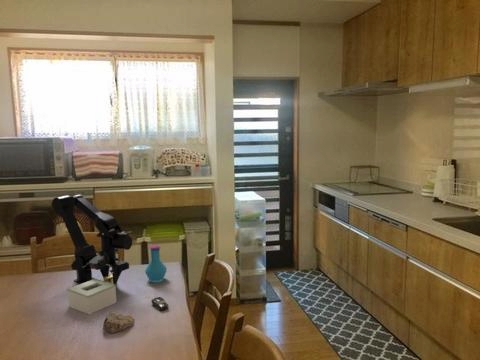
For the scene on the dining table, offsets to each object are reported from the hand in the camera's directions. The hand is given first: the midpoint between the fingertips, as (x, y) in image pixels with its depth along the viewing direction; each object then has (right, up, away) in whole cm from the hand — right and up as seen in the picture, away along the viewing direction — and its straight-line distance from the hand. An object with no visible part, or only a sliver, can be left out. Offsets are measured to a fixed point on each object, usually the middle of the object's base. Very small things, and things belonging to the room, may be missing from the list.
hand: (110, 282), depth 170 cm
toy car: (+24, -4, -20) cm, 31 cm away
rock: (+14, -6, -36) cm, 39 cm away
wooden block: (0, -1, 0) cm, 1 cm away
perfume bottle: (+18, 0, +6) cm, 19 cm away
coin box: (-1, -3, -19) cm, 19 cm away
